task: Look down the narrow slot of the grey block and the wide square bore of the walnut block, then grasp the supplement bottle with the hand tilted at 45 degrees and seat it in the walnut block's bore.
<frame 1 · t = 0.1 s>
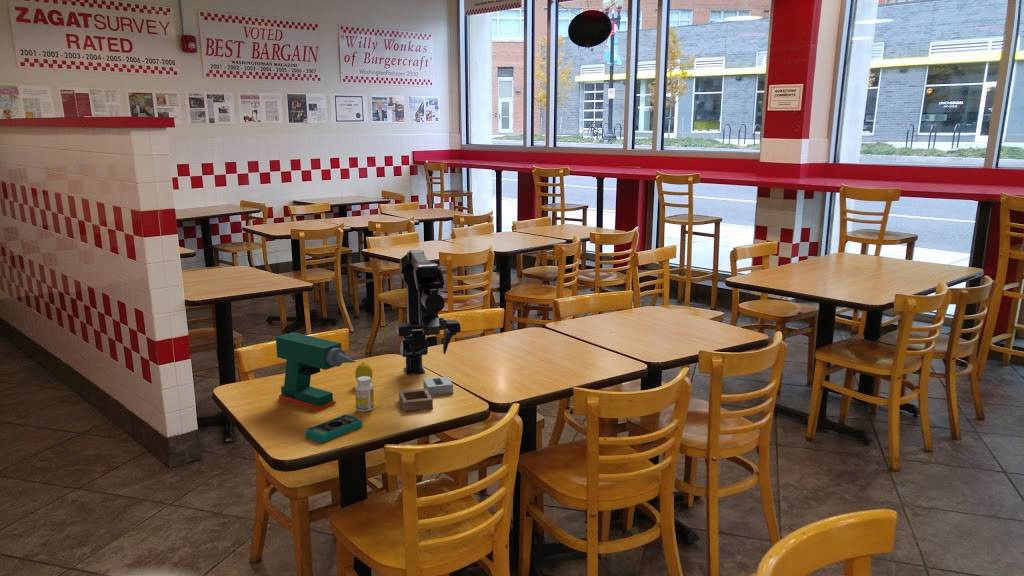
hand: (429, 354, 220), 14 cm above the table, tool pointing down, fingers open, 9 cm apart
grey slot block: (438, 390, 230), on the table
walnut socket block: (415, 404, 218), on the table
power tool: (322, 406, 218), on the table
digital multimeter: (334, 433, 199), on the table
supplement bottle: (365, 409, 215), on the table
lemon: (364, 386, 235), on the table
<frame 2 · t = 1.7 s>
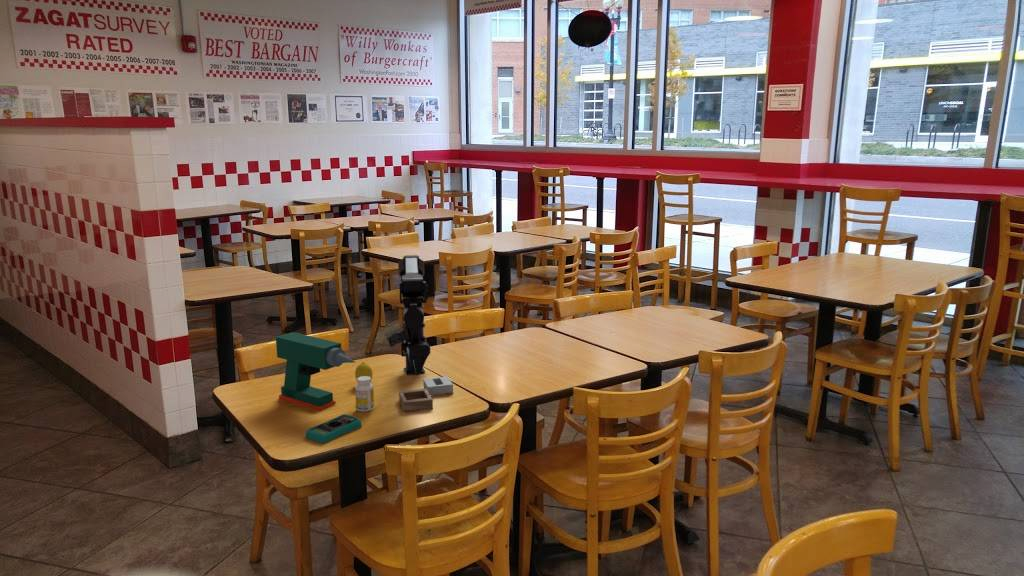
hand: (415, 369, 216), 11 cm above the table, tool pointing down, fingers open, 9 cm apart
nothing on the table moved.
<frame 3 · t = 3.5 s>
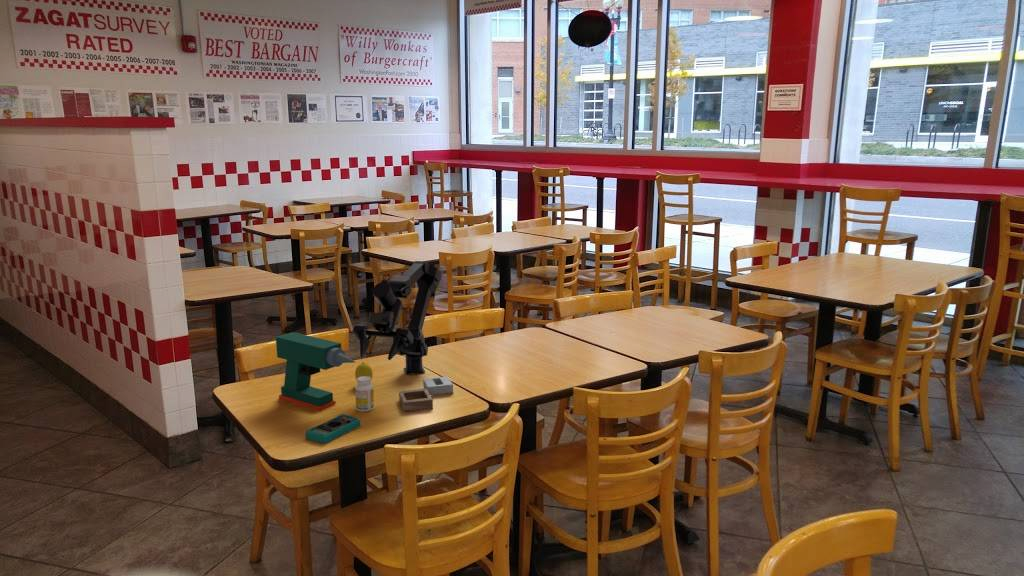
hand: (375, 358, 219), 13 cm above the table, tool tilted 45°, fingers open, 9 cm apart
nothing on the table moved.
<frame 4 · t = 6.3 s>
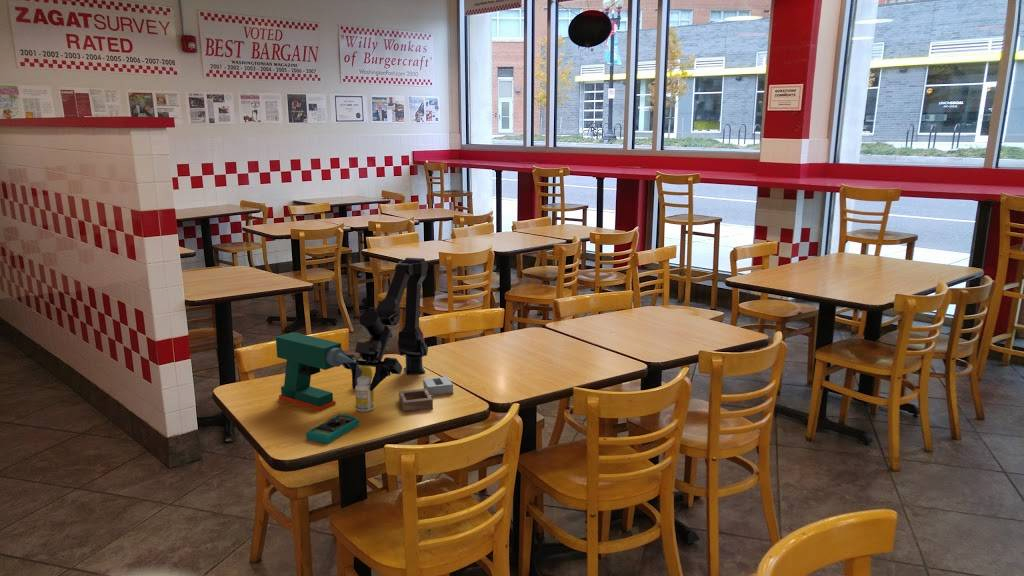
hand: (362, 389, 213), 7 cm above the table, tool tilted 45°, fingers closed on supplement bottle, 5 cm apart
supplement bottle: (365, 409, 215), on the table, touching gripper
everything else where it was.
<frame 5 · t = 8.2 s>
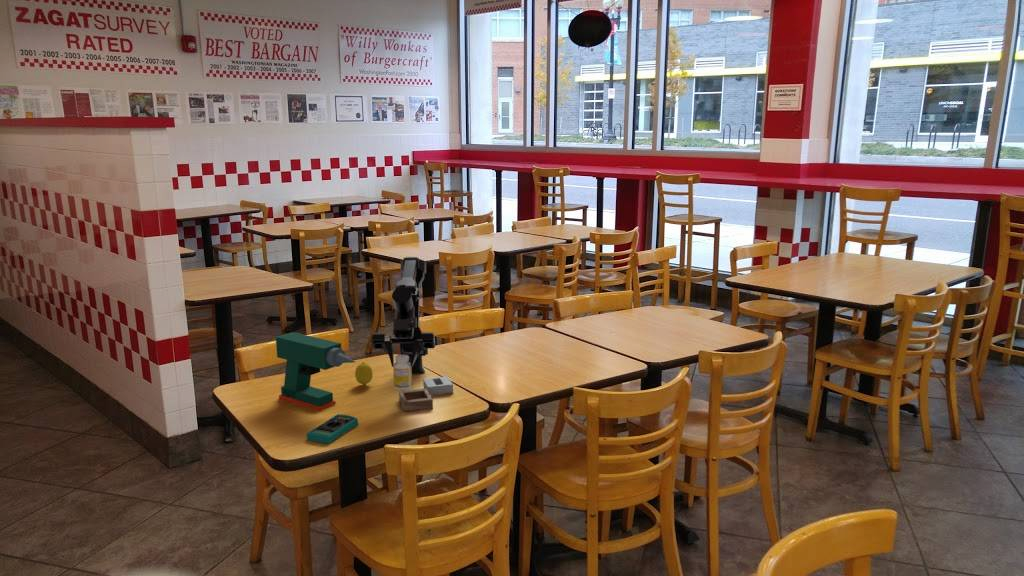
hand: (402, 366, 213), 13 cm above the table, tool tilted 45°, fingers closed on supplement bottle, 5 cm apart
supplement bottle: (403, 387, 216), point 6 cm above the table, touching gripper
when the fingers open (8 cm above the table, at t = 10.1 s): supplement bottle stays where it is, resting on walnut socket block.
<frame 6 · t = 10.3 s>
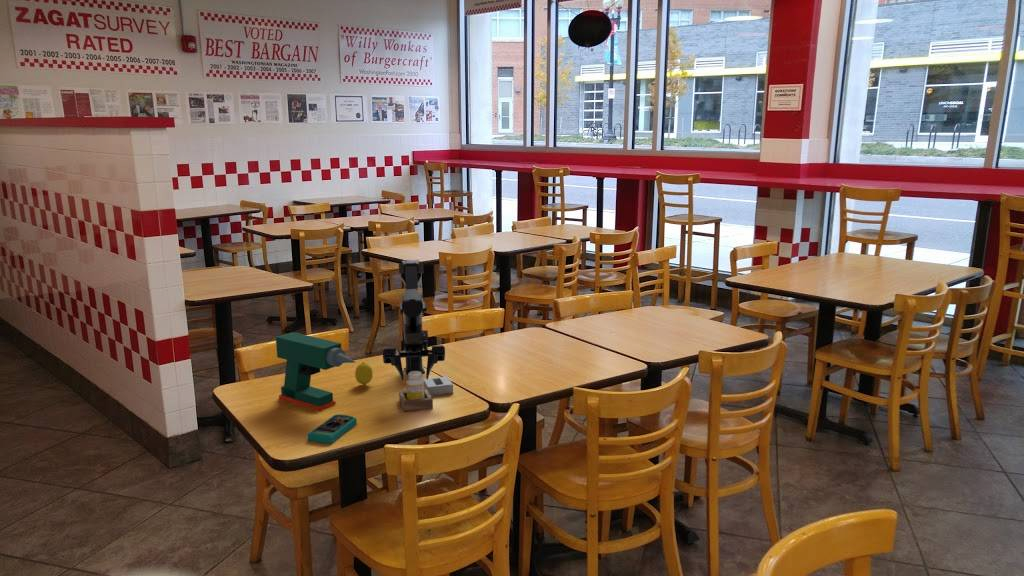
hand: (415, 379, 215), 9 cm above the table, tool tilted 45°, fingers open, 7 cm apart
supplement bottle: (415, 403, 218), resting on walnut socket block
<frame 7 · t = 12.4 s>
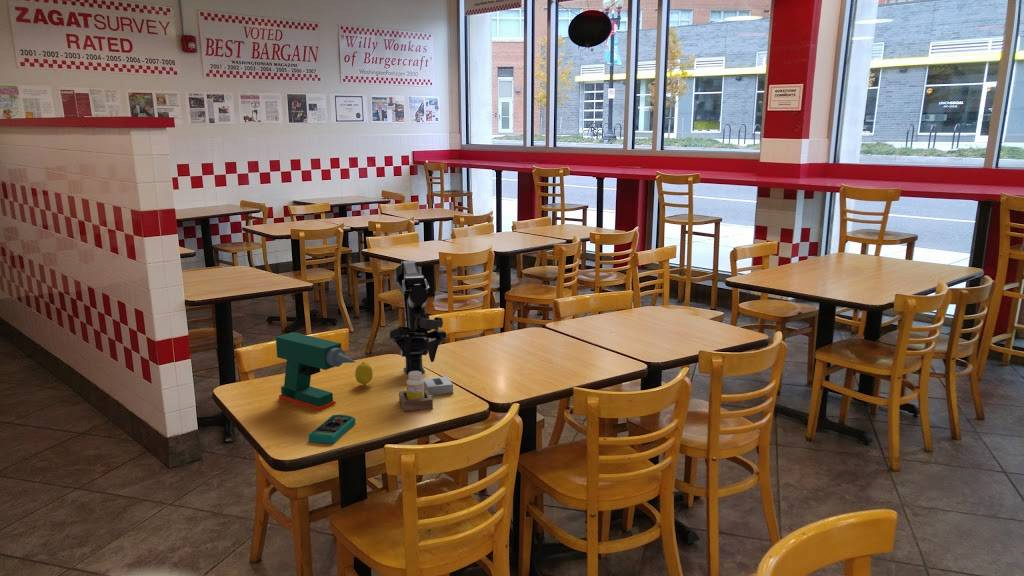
hand: (421, 361, 226), 11 cm above the table, tool tilted 30°, fingers open, 9 cm apart
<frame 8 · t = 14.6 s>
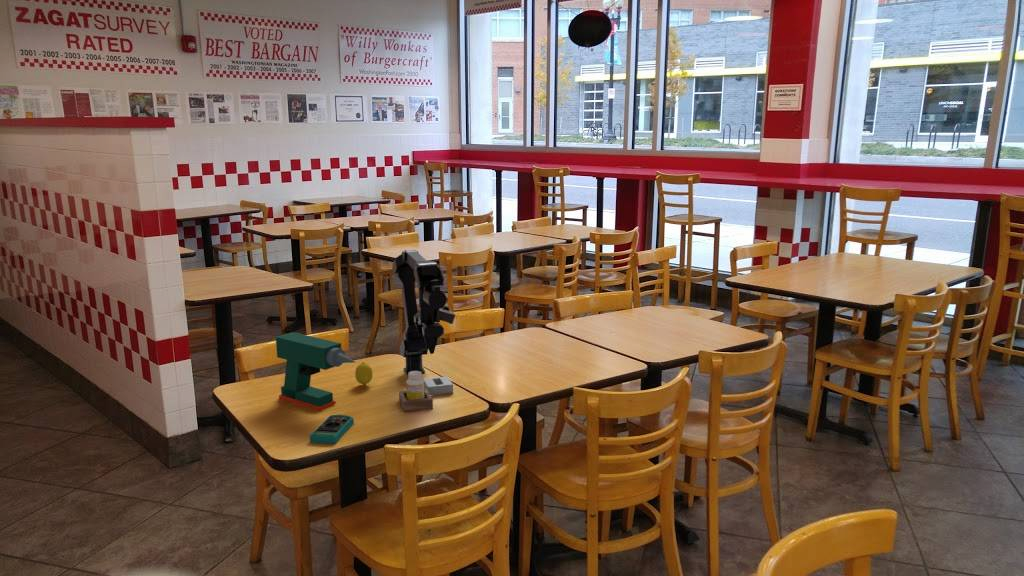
hand: (429, 349, 230), 13 cm above the table, tool pointing down, fingers open, 9 cm apart
at the end: supplement bottle 0.1 cm off-centre on the walnut socket block, point 0.3 cm above the walnut socket block's base; supplement bottle tilted 0°; the gripper is holding nothing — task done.
